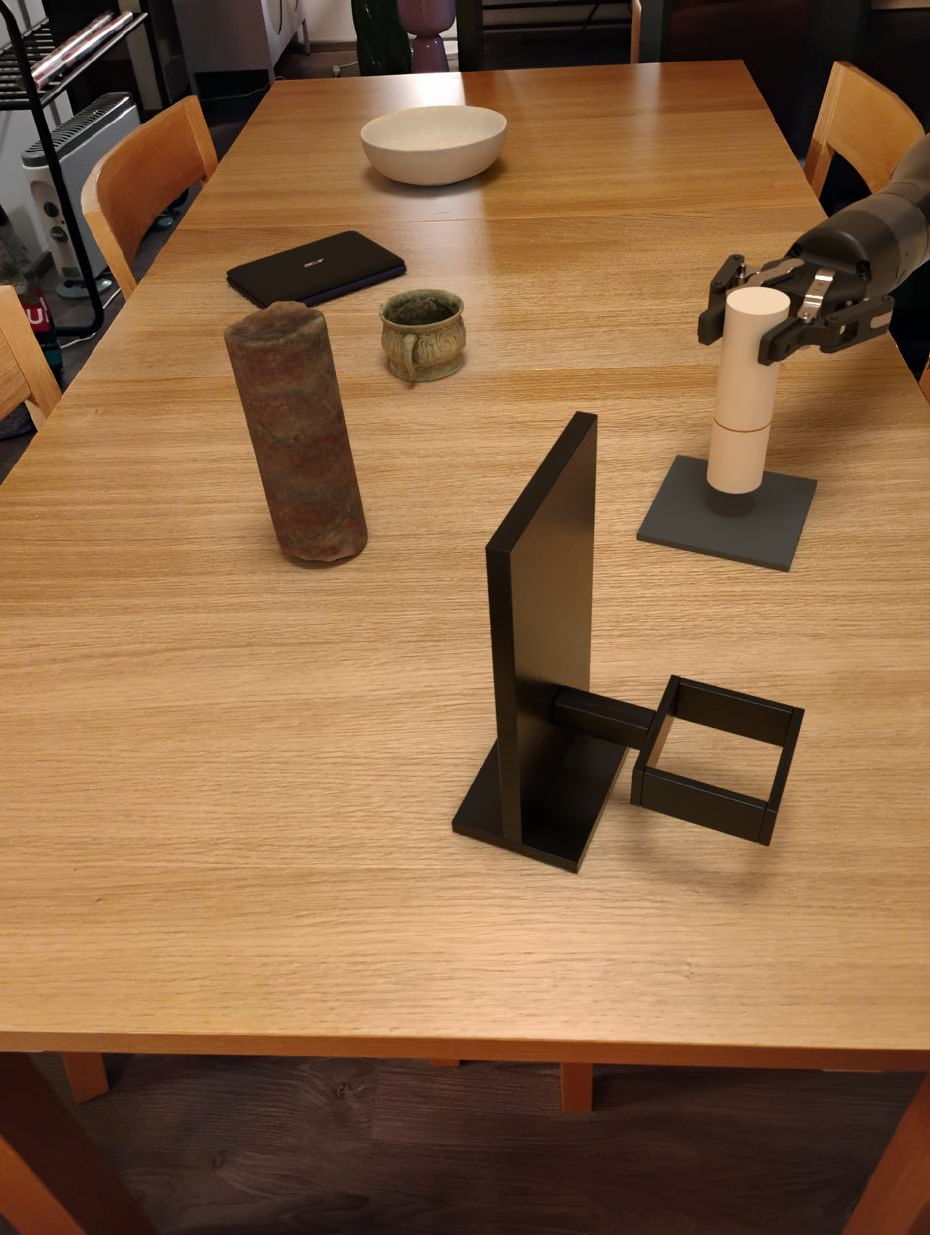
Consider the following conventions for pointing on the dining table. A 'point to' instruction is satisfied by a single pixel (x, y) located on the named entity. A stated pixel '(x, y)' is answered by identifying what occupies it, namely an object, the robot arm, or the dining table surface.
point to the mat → (729, 516)
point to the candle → (298, 430)
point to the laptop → (316, 270)
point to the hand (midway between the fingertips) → (733, 342)
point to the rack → (587, 691)
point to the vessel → (423, 333)
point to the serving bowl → (434, 143)
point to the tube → (744, 390)
